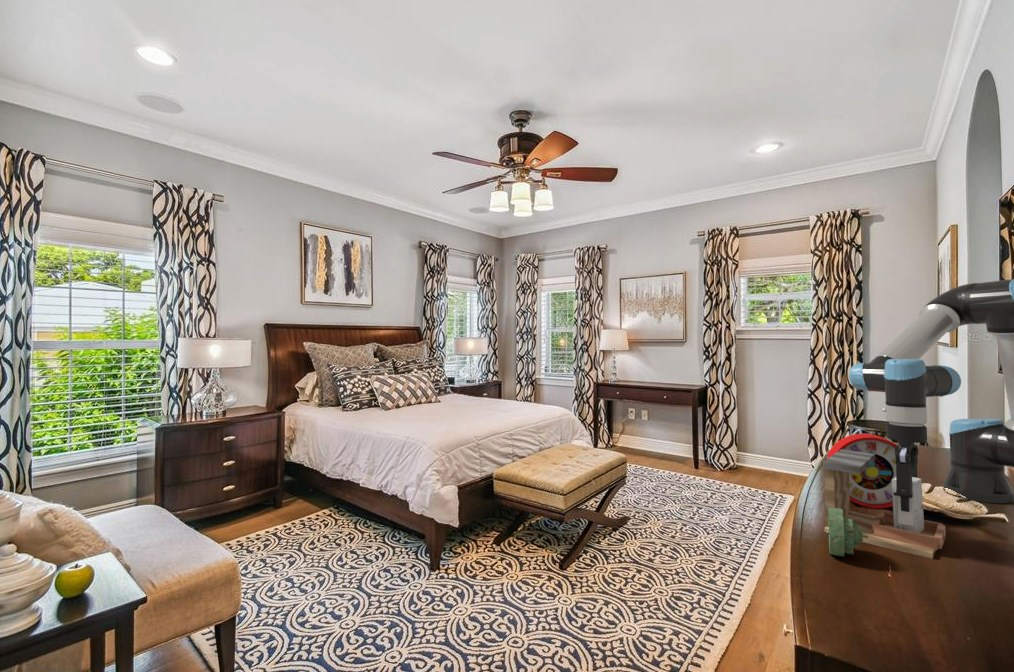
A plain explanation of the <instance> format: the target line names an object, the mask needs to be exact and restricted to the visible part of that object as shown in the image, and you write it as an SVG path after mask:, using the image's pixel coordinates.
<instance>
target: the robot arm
mask: <svg viewBox="0 0 1014 672" xmlns="http://www.w3.org/2000/svg"><path fill="white" fill-rule="evenodd" d="M982 324H983V325H985V327H986V331H987V333H988V334H989V335H993V336H994V337H995V338H996V343H997V349H998V354H999V359H1000V360H999V361H1000V365H1001V370H1002V377H1003V381H1004V387H1005V393H1006V398H1007V399H1006V400H1007V402H1008V403H1007V404H1008V405H1007V406H1008V410H1009V414H1010V417H1009V419H1007V420H1006V421H1005V422H1004V421H1003V419H999V418H959V419H954V420H952V421H951V422H950V424H949V433H948V435H949V450H950V451H949V453H950V454H949V455H950V456H949V458H950V459H949V460H950V466H949V470H948V472H947V473H946V476H945V478H944V480H943V489H944V488H948V489H951V490H953V491H955V492H957V493H959V494H961V495H963V496H965V497H966V498H968V499H967V500H971V501H976V502H981V503H982V502H983V503H989V504H990V503H991V504H1009V503H1011V504H1012V503H1014V491H1013V489H1012V487H1011V485H1010V482H1009V480H1008V478H1007V476H1006V475H1007V474H1006V473H1005V467H1009V468H1014V278H1013V279H1002V280H993V281H986V282H985V281H984V282H973V283H967V284H966V283H965V284H962V285H959V286H956V287H954V288H953V287H952V288H951V289H949V290H947V291H945V292H943V293H940V294H939V295H938V296H936V297H935V298H933V299H932V300H930V301H929V302H928V303H927V304H925V305H924V306H923V307H922V308H921V309H920V310H919V312H918V317H917V318H916V319H914V321H912V323H910V324H909V326H907V328H906V329H904V330H903V331H902V332H901V333H900V334H898V336H896V337H895V338H894V339H893V340H892V341H891V342H890V343H889V344H888V345H887V346H886V347H885V348H884V349H883V350H882V351H880V352H879V353H878V354H877V355H876V356H875V357H874V358H873V359H872V360H871V361H870V362H860V363H855V364H853V365H852V366H851V367H850V370H849V373H848V379H849V382H850V384H851V385H852V387H853V388H855V389H857V390H861V391H868V392H875V393H884V394H885V395H884V396H885V407H883V408H882V412H883V413H885V420H886V421H887V423H886V424H885V437H886V439H887V440H888V439H889V440H890V441H891V440H892V441H897V442H898V445H897V447H896V448H895V456H896V493H894V495H895V496H898V523H899V524H904V525H909V526H914V511H913V497H912V496H913V495H912V477H915V478H919V477H918V463H919V462H918V455H919V448H918V446H917V444H920V443H926V442H927V441H928V427H927V426H926V424H927V423H928V408H927V398H929V397H939V398H940V397H946V396H950V395H953V394H954V393H957V392H958V391H959V390H960V388H961V384H962V379H961V376H960V374H959V373H958V371H957V370H956V369H954V368H953V367H951V366H947V365H941V364H940V365H936V364H933V365H926V363H925V361H924V360H923V359H921V358H922V357H923V356H924V355H925V354H926V353H927V352H928V351H930V349H931V348H933V346H934V345H936V343H938V342H939V340H941V339H942V338H943V337H944V336H945V335H947V333H952V332H954V331H955V330H957V329H958V328H959V327H962V326H967V325H982ZM915 443H916V444H915ZM901 490H903V491H901Z"/></svg>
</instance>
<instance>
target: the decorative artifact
mask: <svg viewBox="0 0 1014 672" xmlns="http://www.w3.org/2000/svg"><path fill="white" fill-rule="evenodd" d="M828 524H829V534H828V550H829V555H831V556H837V557H842V558H843V557H844V558H845V554H849V555H854V548H859V544H860V543H861V544H863V543H864V542H863V537H864V538H868V536H865V535H863V532H862V530H858V524H857V523H853V520H852V519H849V518H843V510H842V509H837V508H831V507H828Z"/></svg>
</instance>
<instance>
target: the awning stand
mask: <svg viewBox="0 0 1014 672" xmlns="http://www.w3.org/2000/svg"><path fill="white" fill-rule="evenodd" d="M874 461H875V454H870V453H862V452H855V451H847V450H839V451H838V452H837V453H835V454H834V455H832V456H831V457H829V458H828V459H827V458H826V459H825V460H824V461H822V469H824V470H823V472H824V473H823V474H824V507H825V509H824V510H825V511H824V512H825V514H824V516H825V522H824V523H825V526H824V533H825V532H826V533H825V534H828V533H829V524H828V507H831V508H837V509H842V510H843V518H849V519H852V520H853V523H857V524H858V530H862V532H863V535H865V536H868V538H864V537H863V543H866V544H868V545H869V544H870V545H874V546H878V547H882V548H886V549H890V550H894V551H898V552H902V553H906V554H911V555H915V556H919V557H923V558H928V559H931V560H933V559H934V556H935V553H936V551H938V549H939V550H942V548H943V546H944V542H945V539H946V537H947V536H946V533H947V532H946V525H945V524H943V523H942V522H937V521H932V520H927V519H924V530H923V531H921V532H920V533H916V532H911V531H906V530H902V529H897V528H894V519H893V513H892V512H887V511H882V512H880V511H879V512H878V514H877V515H870V514H865V513H860V512H856V511H851V507H850V502H851V500H850V493H849V472H850V473H857V474H861V473H862V472H863V471H864V470H865V469H866V468H867V467H868V466H869V465H870V464H871V463H872V462H874Z"/></svg>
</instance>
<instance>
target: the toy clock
mask: <svg viewBox="0 0 1014 672" xmlns="http://www.w3.org/2000/svg"><path fill="white" fill-rule="evenodd" d="M897 446H898V445H897V444H896V443H894V442H893V441H891V440H890V439H889V440H888V438H884V437H882V436H880V435H876V434H872V433H871V434H870V433H855V434H850V435H848V436H844V437H843V438H841V439H839V440H838V441H837V442H835V443H834V444H833V446H832V447H831V448H830V449H829V451H828V453H827V457H826V459H828V458H829V457H831V456H832V455H834V454H835V453H837V452H838V451H839V450H847V451H855V452H862V453H870V454H875V461H874V462H872V463H871V464H870V465H869V466H868V467H867V468H866V469H865V470H864V471H863V472H862V473H861V474H857V473H850V472H849V493H850V502H853V503H855V504H856V505H859V506H863V507H865V508H871V509H886V508H891V507H892V508H893V495H892V479H894V478H895V477H896V456H895V448H896V447H897Z"/></svg>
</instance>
